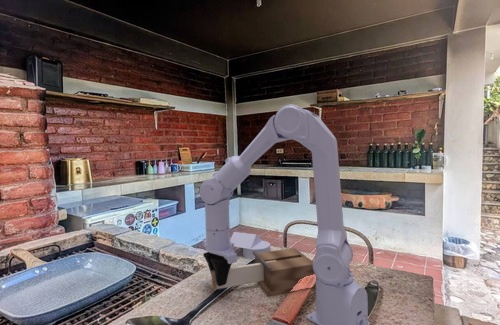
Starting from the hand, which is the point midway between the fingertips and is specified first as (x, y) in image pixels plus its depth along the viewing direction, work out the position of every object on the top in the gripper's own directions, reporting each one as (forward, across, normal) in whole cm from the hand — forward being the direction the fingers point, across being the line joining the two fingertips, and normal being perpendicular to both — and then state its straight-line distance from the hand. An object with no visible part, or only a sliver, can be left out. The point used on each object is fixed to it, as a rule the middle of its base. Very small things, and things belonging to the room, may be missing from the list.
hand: (219, 282), depth 69 cm
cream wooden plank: (+1, -2, -6) cm, 7 cm away
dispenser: (+2, -4, -16) cm, 17 cm away
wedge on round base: (+3, +17, -20) cm, 27 cm away
